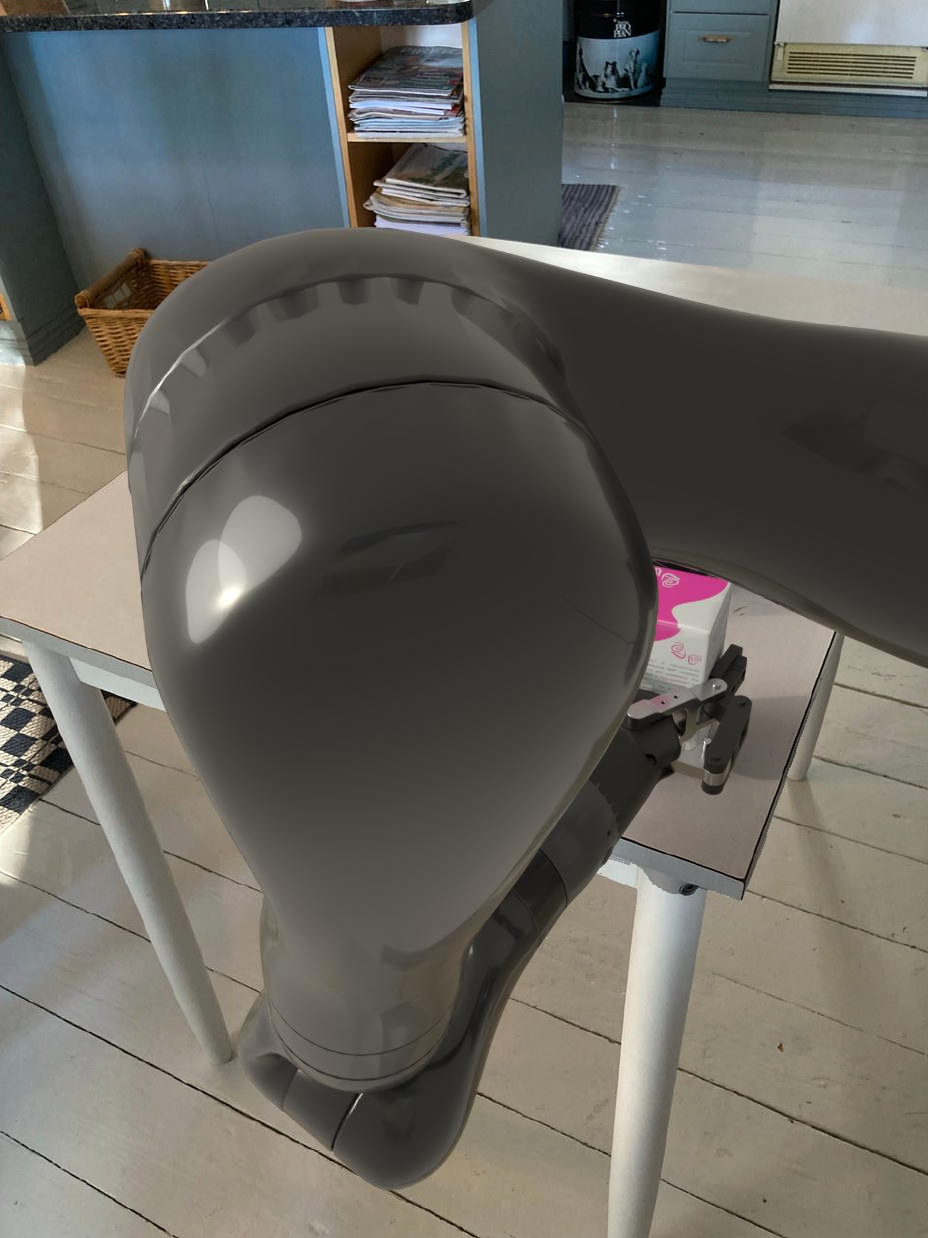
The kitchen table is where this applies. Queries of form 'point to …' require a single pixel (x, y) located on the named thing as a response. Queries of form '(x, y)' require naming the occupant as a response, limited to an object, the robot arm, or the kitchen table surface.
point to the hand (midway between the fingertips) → (684, 638)
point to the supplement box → (687, 634)
